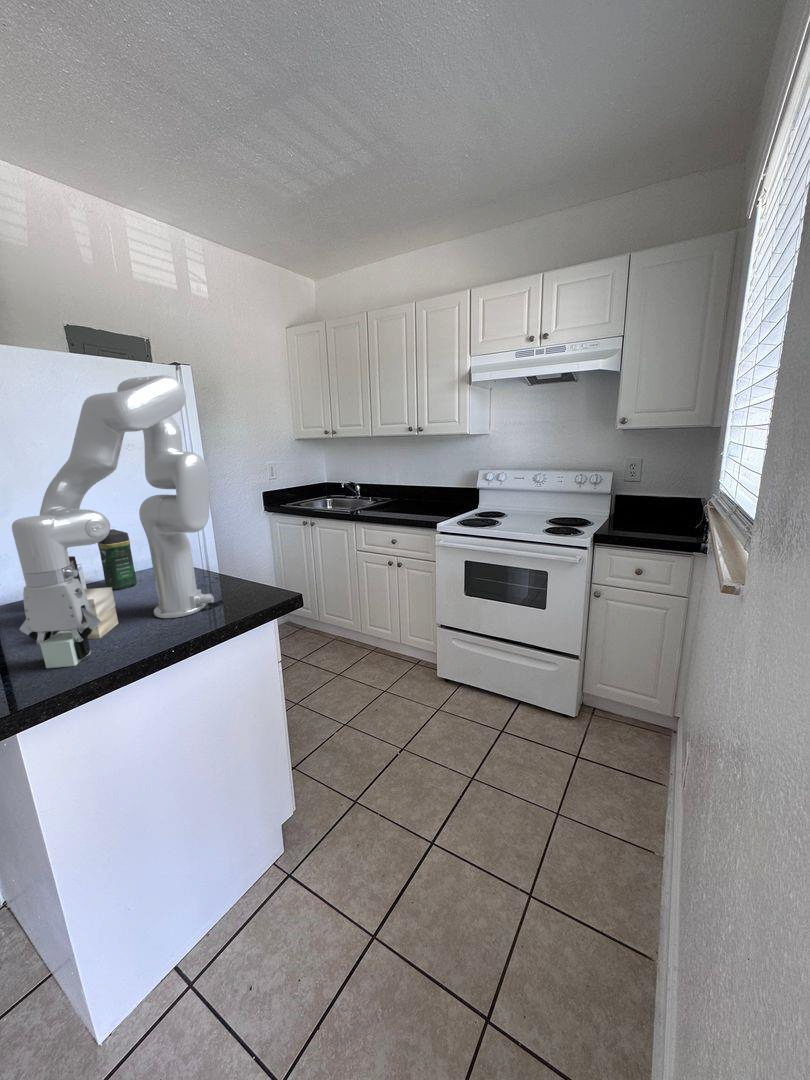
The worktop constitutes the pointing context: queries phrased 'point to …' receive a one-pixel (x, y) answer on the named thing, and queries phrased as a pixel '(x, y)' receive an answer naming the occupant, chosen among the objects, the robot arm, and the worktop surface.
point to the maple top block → (100, 600)
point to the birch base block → (103, 624)
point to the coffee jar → (117, 560)
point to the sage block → (60, 650)
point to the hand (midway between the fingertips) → (68, 657)
